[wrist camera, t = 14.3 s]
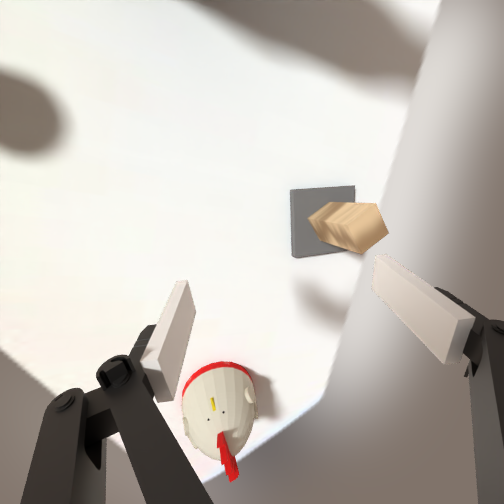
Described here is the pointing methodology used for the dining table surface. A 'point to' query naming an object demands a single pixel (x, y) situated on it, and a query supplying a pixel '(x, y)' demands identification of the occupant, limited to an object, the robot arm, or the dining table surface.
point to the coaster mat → (304, 207)
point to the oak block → (349, 225)
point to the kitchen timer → (219, 412)
